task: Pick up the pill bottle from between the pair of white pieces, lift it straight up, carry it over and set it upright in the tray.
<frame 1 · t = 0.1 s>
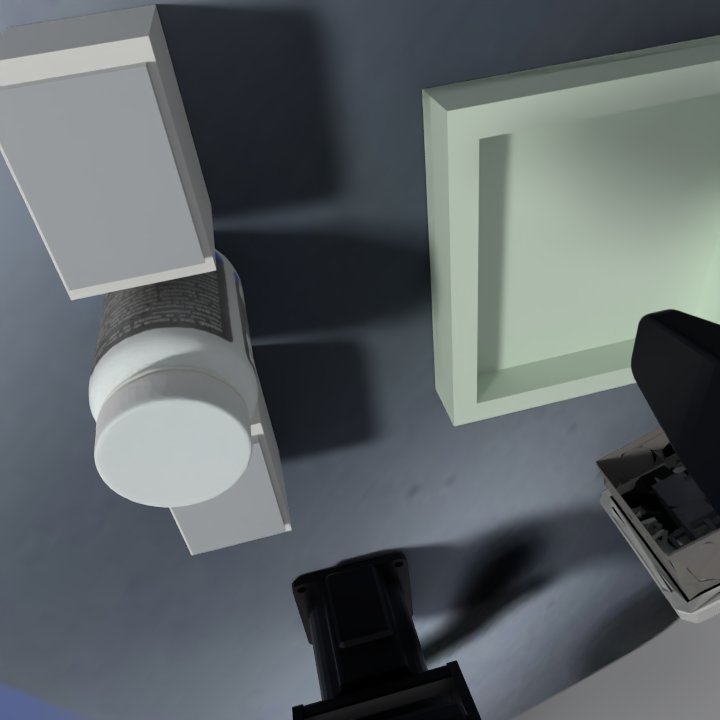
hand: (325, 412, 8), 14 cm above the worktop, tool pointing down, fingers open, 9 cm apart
pair of white pieces: (177, 293, 23), on the worktop
tray: (586, 230, 25), on the worktop
pill bottle: (177, 289, 23), on the worktop
electrical switch: (656, 436, 35), on the worktop
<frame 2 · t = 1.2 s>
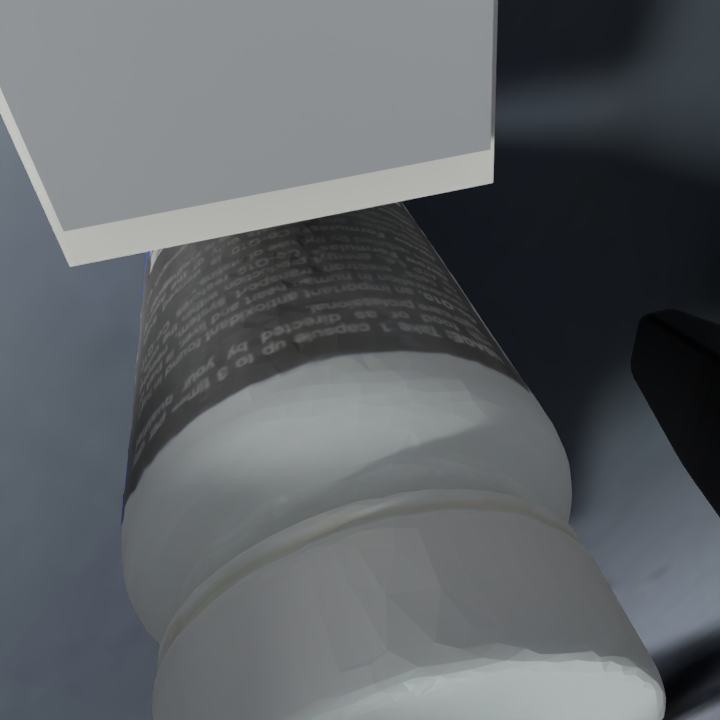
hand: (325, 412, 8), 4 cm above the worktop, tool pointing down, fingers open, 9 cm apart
pair of white pieces: (286, 270, 11), on the worktop
pill bottle: (284, 264, 11), on the worktop
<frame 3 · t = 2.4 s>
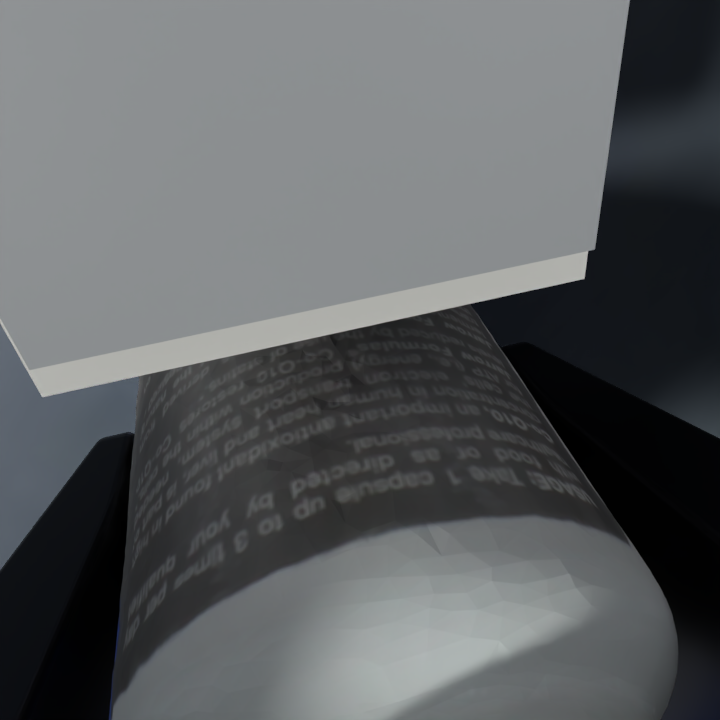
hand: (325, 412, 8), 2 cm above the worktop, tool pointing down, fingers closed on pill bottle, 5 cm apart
pair of white pieces: (302, 327, 10), on the worktop
pill bottle: (300, 320, 10), on the worktop, touching gripper
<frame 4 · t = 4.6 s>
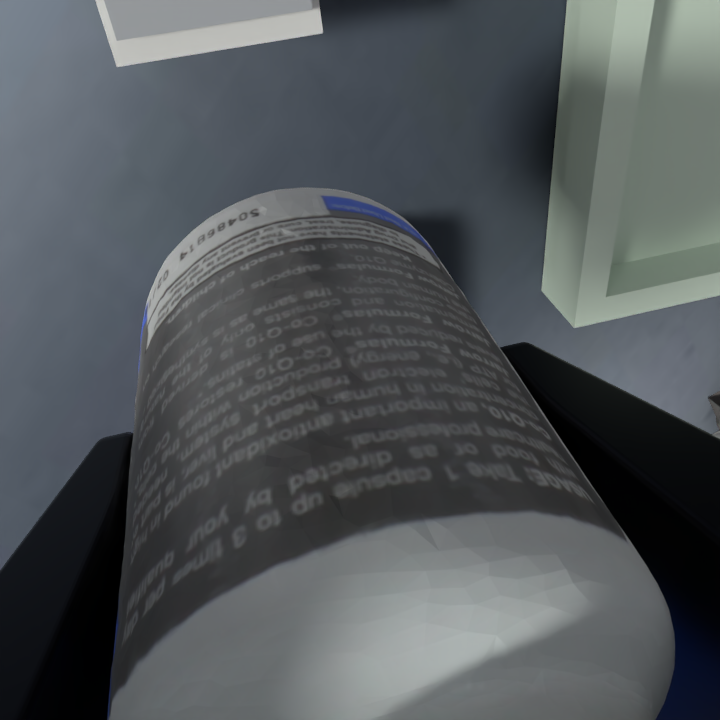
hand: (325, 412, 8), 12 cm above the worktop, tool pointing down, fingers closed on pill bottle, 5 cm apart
pair of white pieces: (240, 132, 18), on the worktop
pill bottle: (299, 319, 10), point 10 cm above the worktop, touching gripper
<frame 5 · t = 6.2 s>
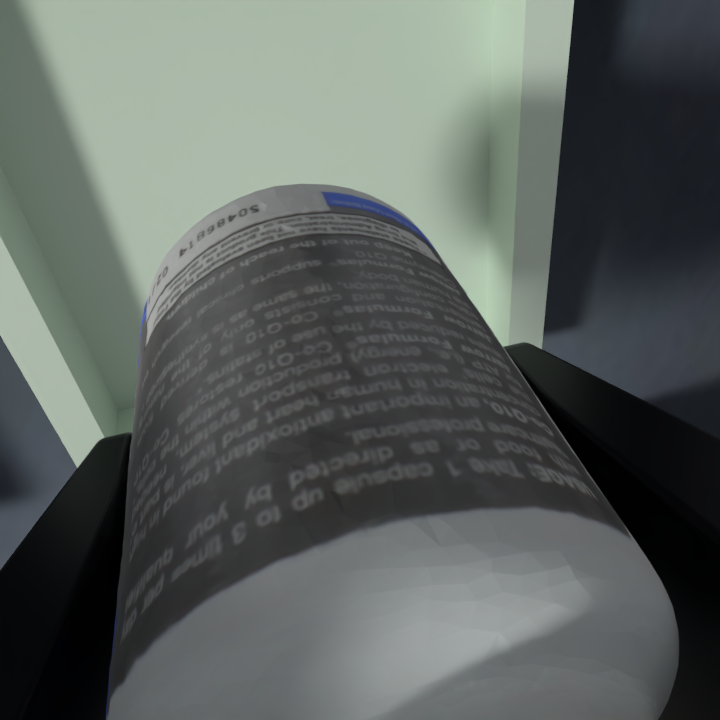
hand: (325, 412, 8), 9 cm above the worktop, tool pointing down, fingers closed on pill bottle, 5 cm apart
tray: (267, 180, 16), on the worktop
pill bottle: (300, 316, 10), point 7 cm above the worktop, touching gripper
when the fingers open (4 cm above the worktop, at t = 7.4 s): pill bottle drops 1 cm, resting on tray.
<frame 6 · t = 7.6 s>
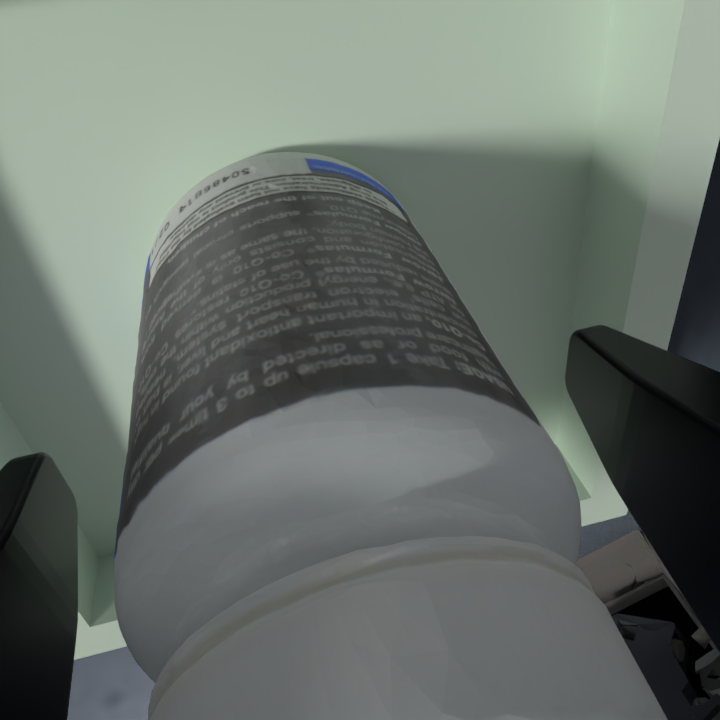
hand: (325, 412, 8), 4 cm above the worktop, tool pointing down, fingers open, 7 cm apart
tray: (290, 281, 12), on the worktop
pill bottle: (287, 275, 11), point 1 cm above the worktop, touching tray
electrical switch: (534, 591, 21), on the worktop
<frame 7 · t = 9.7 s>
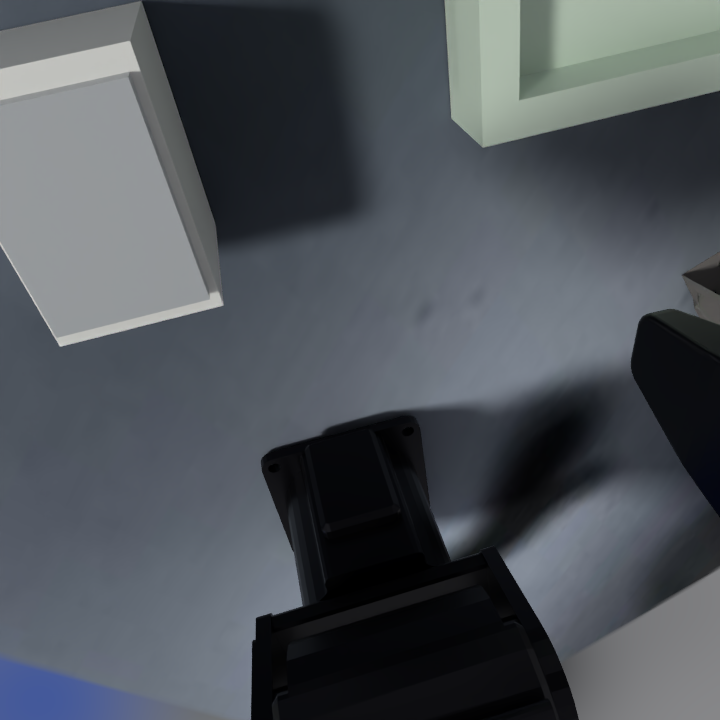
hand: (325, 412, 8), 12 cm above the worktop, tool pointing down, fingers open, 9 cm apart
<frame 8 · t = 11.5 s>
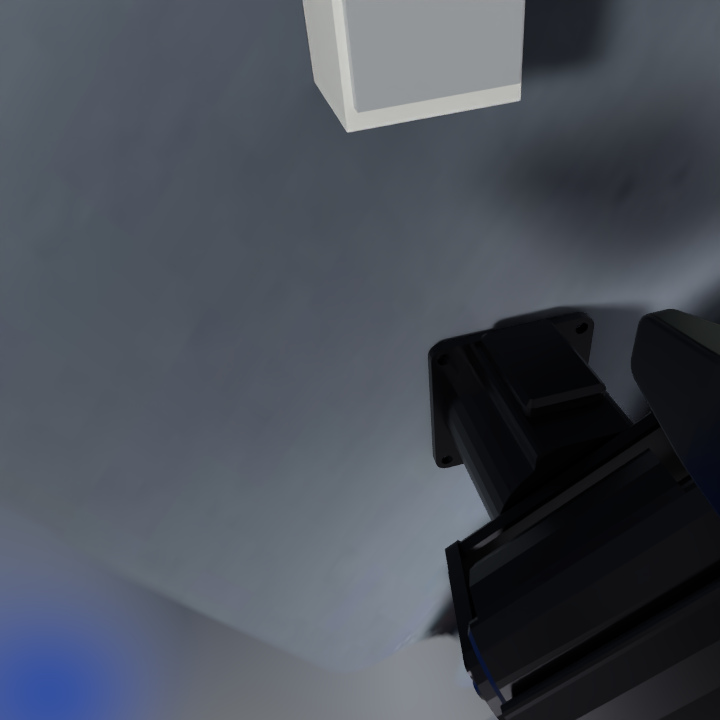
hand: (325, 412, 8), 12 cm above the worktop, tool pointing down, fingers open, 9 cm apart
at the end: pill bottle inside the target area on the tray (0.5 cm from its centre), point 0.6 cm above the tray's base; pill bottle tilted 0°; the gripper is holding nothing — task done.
